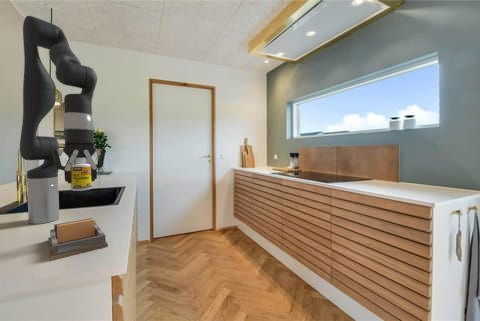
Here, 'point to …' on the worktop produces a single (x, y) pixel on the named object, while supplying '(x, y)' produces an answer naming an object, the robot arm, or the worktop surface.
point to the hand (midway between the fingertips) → (81, 181)
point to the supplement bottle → (81, 175)
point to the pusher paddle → (75, 230)
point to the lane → (75, 243)
